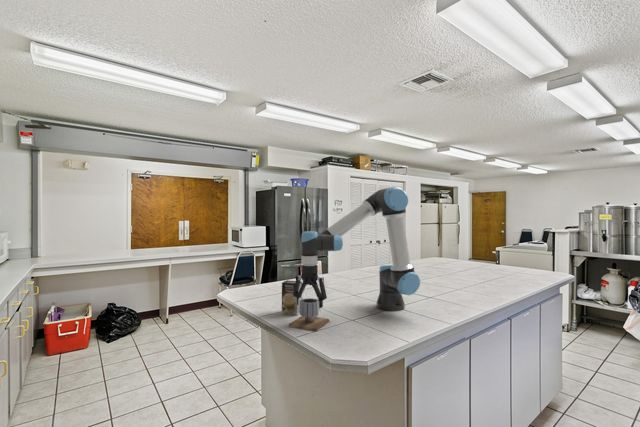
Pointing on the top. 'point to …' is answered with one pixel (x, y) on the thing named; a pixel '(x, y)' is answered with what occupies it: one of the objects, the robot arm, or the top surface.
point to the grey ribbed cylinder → (308, 307)
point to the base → (309, 326)
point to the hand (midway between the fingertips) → (309, 313)
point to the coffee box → (289, 298)
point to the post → (309, 319)
